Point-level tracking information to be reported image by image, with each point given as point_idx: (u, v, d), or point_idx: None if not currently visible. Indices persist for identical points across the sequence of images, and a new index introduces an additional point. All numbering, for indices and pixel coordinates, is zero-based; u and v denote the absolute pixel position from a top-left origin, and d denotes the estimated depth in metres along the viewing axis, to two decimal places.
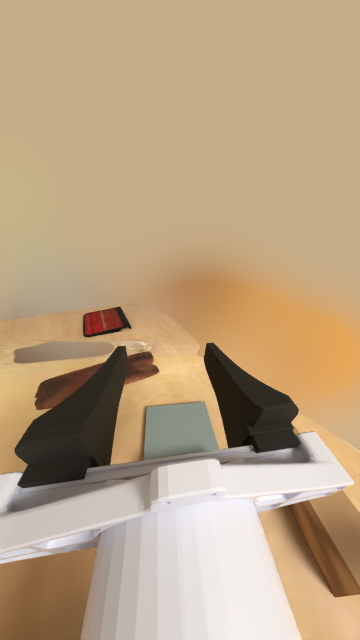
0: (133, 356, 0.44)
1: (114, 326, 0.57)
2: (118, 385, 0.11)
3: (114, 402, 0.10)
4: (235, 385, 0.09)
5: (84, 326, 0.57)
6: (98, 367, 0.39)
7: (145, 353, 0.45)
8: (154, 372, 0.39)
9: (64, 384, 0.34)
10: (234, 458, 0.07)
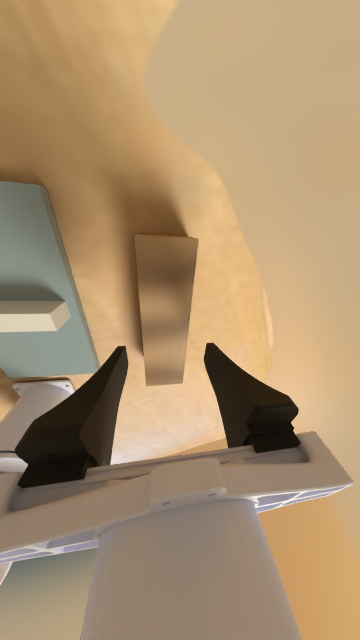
0: None
1: None
2: (118, 385, 0.11)
3: (114, 402, 0.10)
4: (235, 385, 0.09)
5: None
6: None
7: None
8: None
9: None
10: (234, 458, 0.07)
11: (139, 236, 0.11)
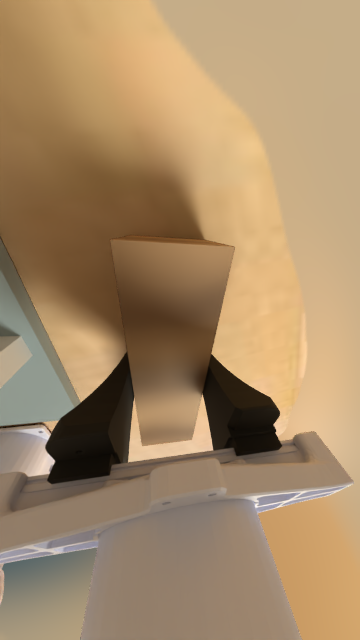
0: None
1: None
2: (132, 384, 0.11)
3: (130, 401, 0.10)
4: (218, 387, 0.09)
5: None
6: None
7: None
8: None
9: None
10: (234, 458, 0.07)
11: (121, 242, 0.06)
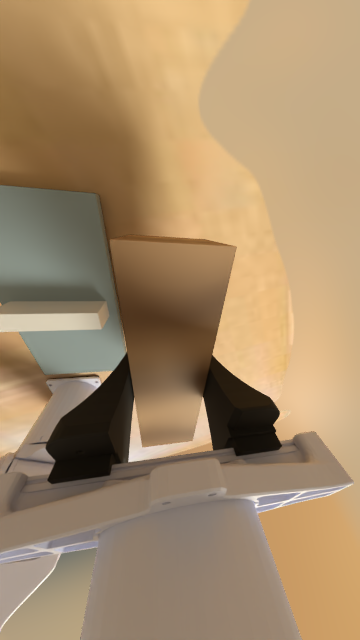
0: None
1: None
2: None
3: (130, 401, 0.10)
4: (218, 387, 0.09)
5: None
6: None
7: None
8: None
9: None
10: (234, 458, 0.07)
11: (120, 242, 0.06)
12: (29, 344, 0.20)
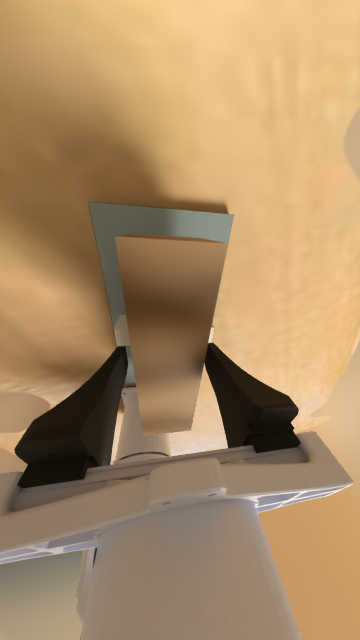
0: None
1: None
2: (118, 385, 0.11)
3: (114, 402, 0.10)
4: (235, 385, 0.09)
5: None
6: None
7: None
8: None
9: None
10: (234, 458, 0.07)
11: (125, 239, 0.06)
12: None
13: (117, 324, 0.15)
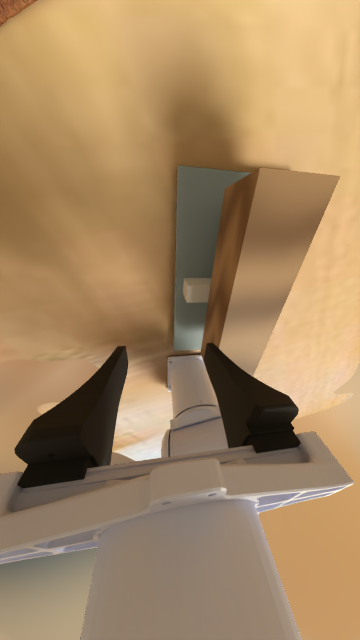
0: None
1: None
2: (118, 385, 0.11)
3: (114, 402, 0.10)
4: (235, 385, 0.09)
5: None
6: None
7: None
8: None
9: None
10: (234, 458, 0.07)
11: (266, 170, 0.08)
12: (177, 320, 0.22)
13: (187, 282, 0.17)
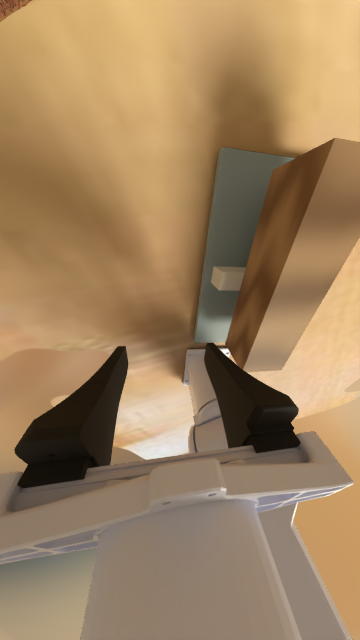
0: None
1: None
2: (118, 385, 0.11)
3: (114, 402, 0.10)
4: (235, 385, 0.09)
5: None
6: None
7: None
8: None
9: None
10: (234, 458, 0.07)
11: (340, 141, 0.08)
12: (201, 310, 0.21)
13: (220, 270, 0.17)
